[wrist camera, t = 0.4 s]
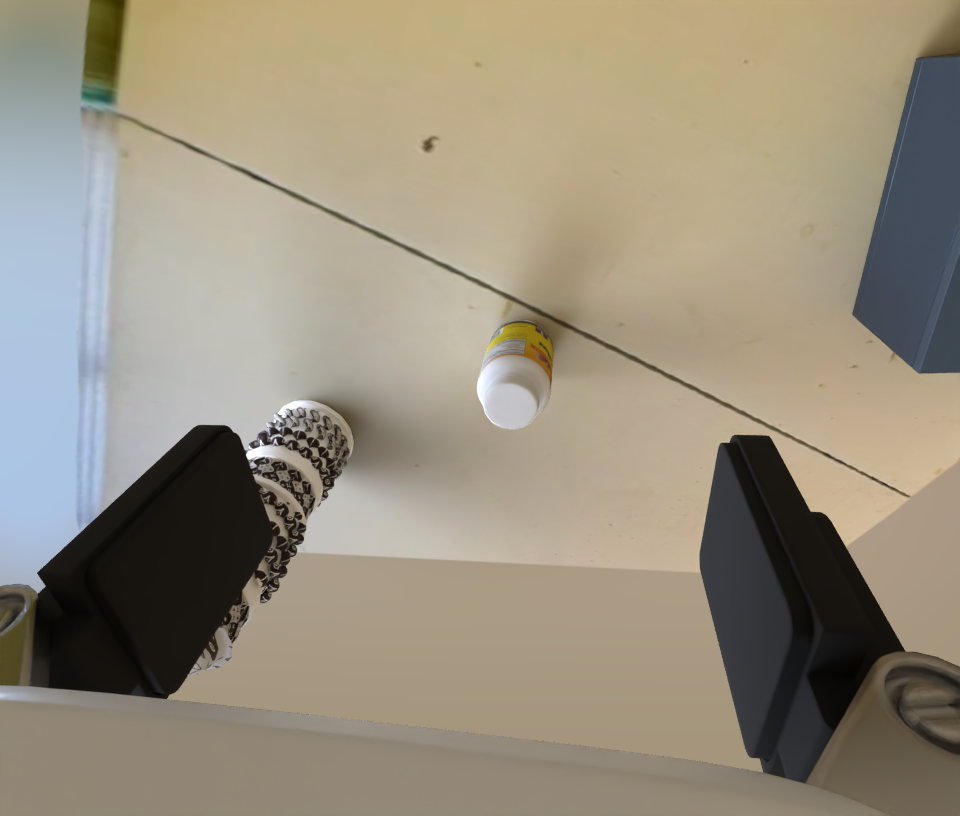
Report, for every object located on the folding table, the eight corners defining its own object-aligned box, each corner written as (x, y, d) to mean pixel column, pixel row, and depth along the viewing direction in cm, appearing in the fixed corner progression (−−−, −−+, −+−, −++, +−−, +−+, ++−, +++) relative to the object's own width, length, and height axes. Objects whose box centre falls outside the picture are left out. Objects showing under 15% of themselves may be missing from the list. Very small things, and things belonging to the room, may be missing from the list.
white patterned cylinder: (266, 389, 54) (68, 592, 33) (357, 404, 54) (215, 621, 32) (274, 462, 59) (108, 679, 38) (358, 477, 58) (235, 706, 37)
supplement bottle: (556, 372, 49) (553, 438, 40) (495, 377, 50) (478, 441, 41) (551, 313, 46) (545, 369, 37) (485, 319, 47) (465, 375, 38)
